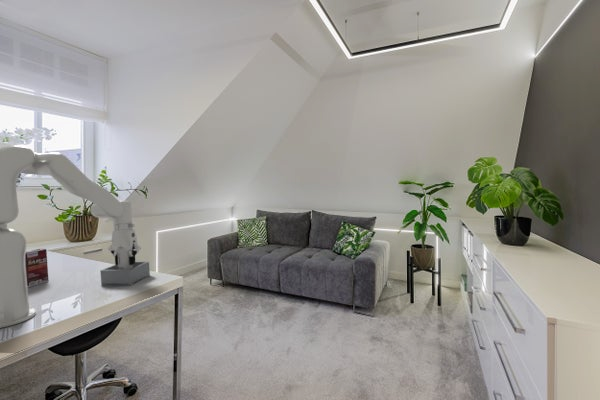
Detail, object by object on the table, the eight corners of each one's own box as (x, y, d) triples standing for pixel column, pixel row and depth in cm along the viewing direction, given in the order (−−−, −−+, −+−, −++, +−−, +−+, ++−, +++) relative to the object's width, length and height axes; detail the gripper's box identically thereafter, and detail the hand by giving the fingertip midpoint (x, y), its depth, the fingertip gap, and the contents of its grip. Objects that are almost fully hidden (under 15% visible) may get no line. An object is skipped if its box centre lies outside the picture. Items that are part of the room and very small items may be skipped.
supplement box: (29, 287, 125) (26, 253, 124) (20, 287, 126) (17, 253, 125) (49, 281, 134) (47, 248, 133) (41, 280, 135) (39, 248, 134)
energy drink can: (116, 275, 132) (115, 244, 131) (131, 272, 136) (129, 242, 136) (121, 278, 128) (119, 246, 127) (135, 275, 132) (133, 244, 132)
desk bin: (130, 285, 125) (129, 270, 124) (101, 285, 126) (100, 270, 126) (149, 275, 139) (148, 261, 138) (123, 275, 140) (122, 261, 140)
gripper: (145, 225, 134) (147, 262, 135) (112, 225, 135) (114, 261, 136) (135, 228, 126) (137, 266, 127) (99, 228, 128) (102, 266, 129)
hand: (125, 263), depth 132 cm, fingers open, 6 cm apart
